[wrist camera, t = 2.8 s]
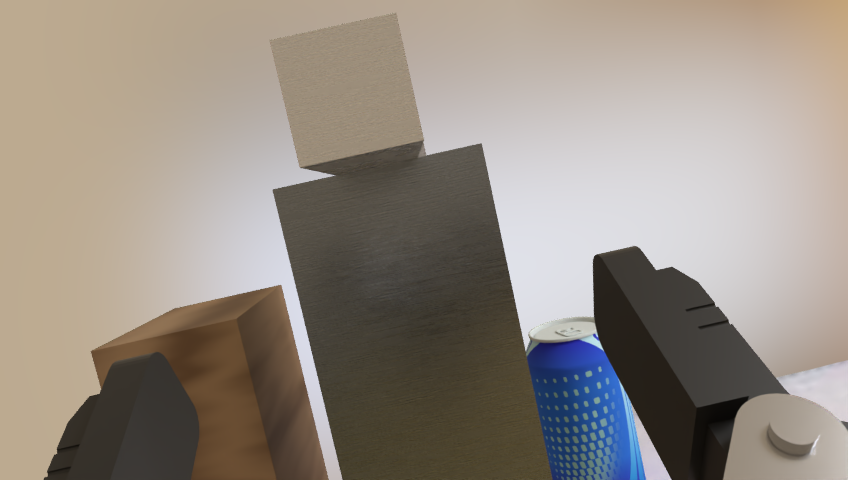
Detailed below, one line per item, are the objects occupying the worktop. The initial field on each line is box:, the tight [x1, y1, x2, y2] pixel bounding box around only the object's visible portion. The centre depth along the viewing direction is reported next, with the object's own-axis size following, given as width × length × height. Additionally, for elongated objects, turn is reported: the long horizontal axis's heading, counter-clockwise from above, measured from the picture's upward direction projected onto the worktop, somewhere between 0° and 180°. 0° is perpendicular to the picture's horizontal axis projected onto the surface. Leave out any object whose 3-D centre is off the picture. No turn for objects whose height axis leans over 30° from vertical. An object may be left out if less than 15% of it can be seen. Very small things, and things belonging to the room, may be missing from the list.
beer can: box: [526, 317, 646, 480], centre depth 55 cm, size 8×8×16 cm
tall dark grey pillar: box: [273, 144, 553, 480], centre depth 34 cm, size 10×16×32 cm, turn 1°
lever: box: [270, 13, 426, 175], centre depth 28 cm, size 5×23×5 cm, turn 1°
